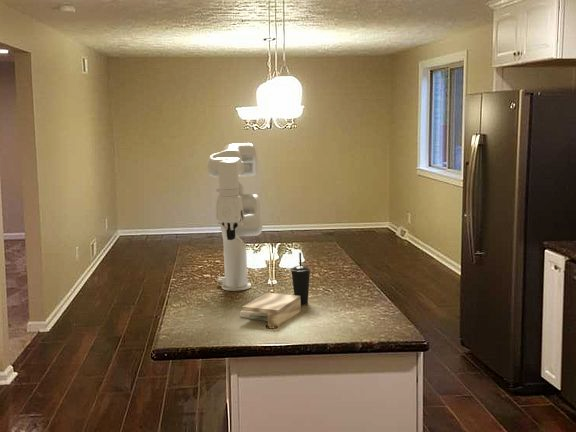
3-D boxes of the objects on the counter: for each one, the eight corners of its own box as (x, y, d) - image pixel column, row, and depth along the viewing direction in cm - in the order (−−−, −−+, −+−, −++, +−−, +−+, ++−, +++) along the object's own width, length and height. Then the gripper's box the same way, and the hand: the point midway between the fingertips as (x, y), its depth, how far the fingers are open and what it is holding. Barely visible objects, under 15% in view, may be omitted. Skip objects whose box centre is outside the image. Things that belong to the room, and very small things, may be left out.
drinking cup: (299, 299, 284) (298, 250, 281) (315, 302, 279) (314, 252, 276) (287, 304, 278) (286, 253, 275) (303, 307, 273) (301, 255, 270)
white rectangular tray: (240, 316, 263) (240, 311, 263) (248, 311, 269) (248, 306, 269) (275, 319, 258) (275, 314, 258) (283, 314, 264) (282, 309, 264)
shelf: (242, 322, 256) (241, 306, 255) (267, 307, 274) (266, 292, 273) (278, 326, 250) (277, 310, 249) (300, 311, 268) (300, 295, 267)
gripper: (207, 193, 275) (209, 240, 278) (241, 195, 269) (243, 243, 272) (217, 190, 281) (219, 235, 285) (251, 191, 275) (252, 238, 279)
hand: (231, 239), depth 279 cm, fingers closed
